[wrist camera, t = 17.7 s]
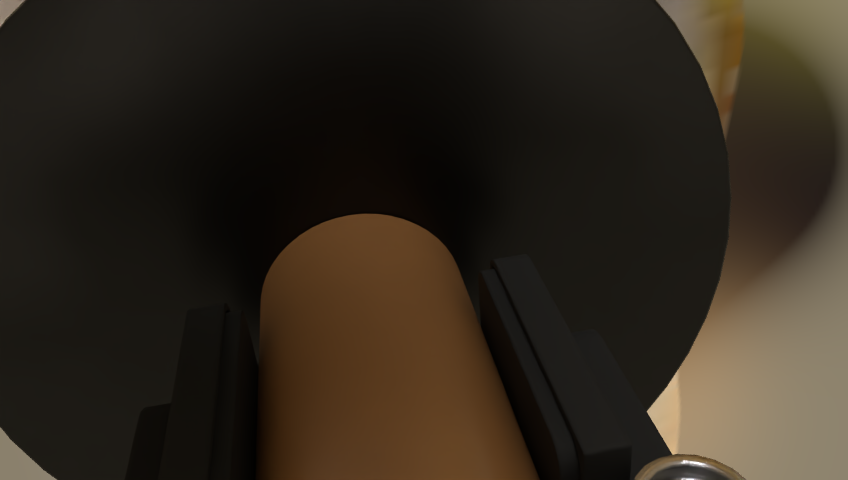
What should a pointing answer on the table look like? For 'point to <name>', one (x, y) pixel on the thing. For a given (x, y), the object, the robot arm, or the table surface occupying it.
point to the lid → (342, 215)
